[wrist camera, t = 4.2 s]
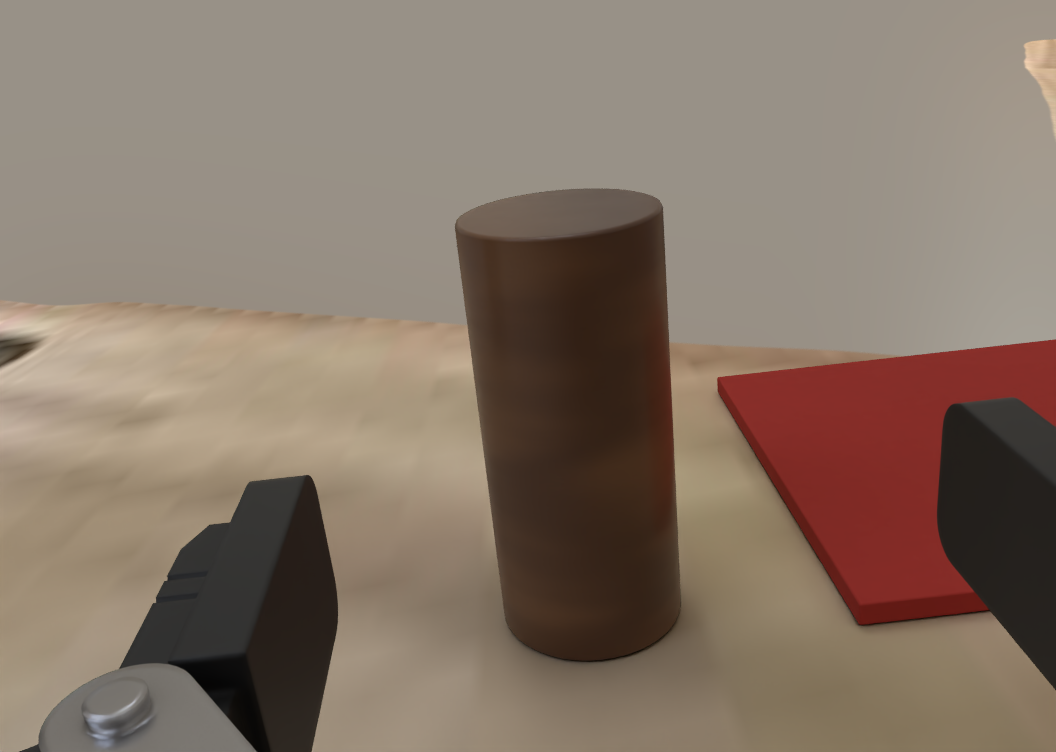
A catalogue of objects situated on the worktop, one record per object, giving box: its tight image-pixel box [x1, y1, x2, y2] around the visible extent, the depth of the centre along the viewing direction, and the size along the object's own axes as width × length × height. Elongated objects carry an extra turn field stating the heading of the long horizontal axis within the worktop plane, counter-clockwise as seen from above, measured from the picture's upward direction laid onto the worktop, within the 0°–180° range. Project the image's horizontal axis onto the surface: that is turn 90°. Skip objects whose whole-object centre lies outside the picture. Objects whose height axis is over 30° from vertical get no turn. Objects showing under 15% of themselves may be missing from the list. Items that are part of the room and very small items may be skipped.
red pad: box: [717, 340, 1056, 625], centre depth 29 cm, size 16×14×1 cm
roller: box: [455, 189, 681, 661], centre depth 22 cm, size 4×4×10 cm
